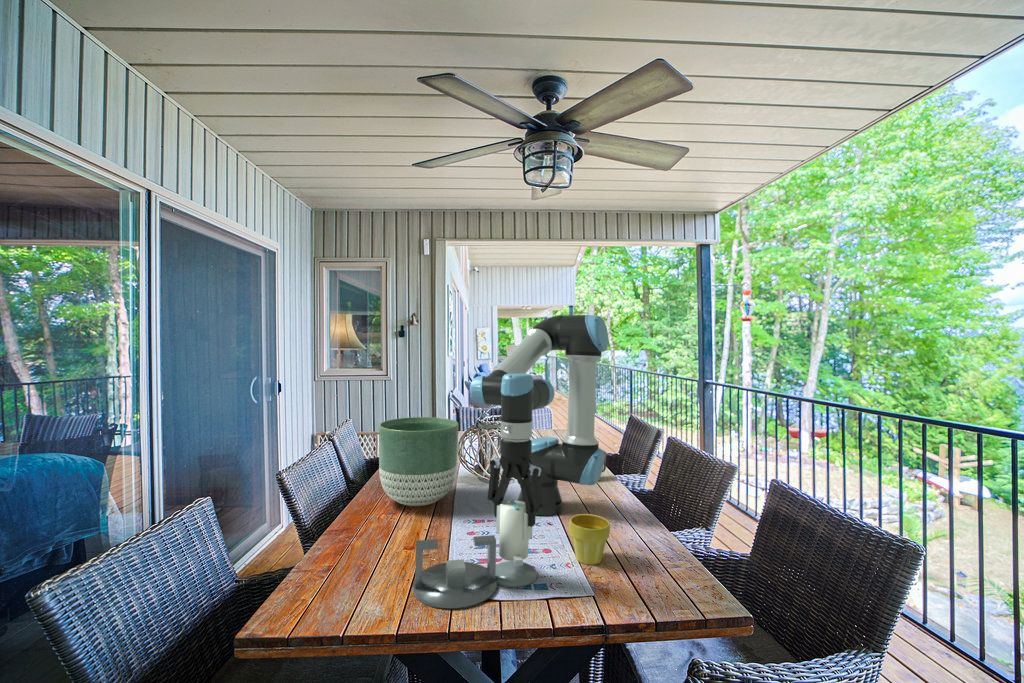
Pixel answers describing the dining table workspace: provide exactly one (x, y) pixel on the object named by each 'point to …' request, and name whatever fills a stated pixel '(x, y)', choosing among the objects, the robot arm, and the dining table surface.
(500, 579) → the coaster
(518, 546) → the white teal-striped cylinder
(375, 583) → the dining table surface
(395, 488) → the planter
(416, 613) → the dining table surface
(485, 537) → the grey hook stand
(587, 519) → the plant pot
